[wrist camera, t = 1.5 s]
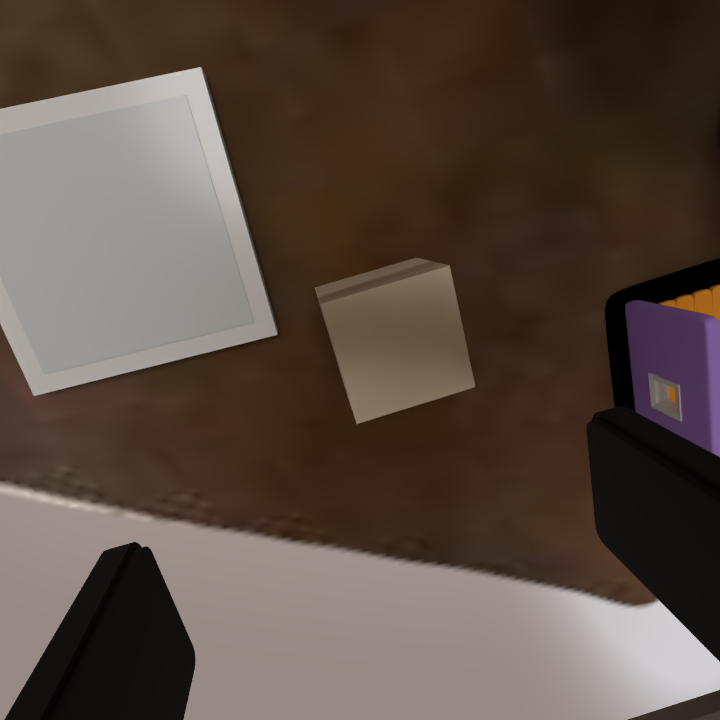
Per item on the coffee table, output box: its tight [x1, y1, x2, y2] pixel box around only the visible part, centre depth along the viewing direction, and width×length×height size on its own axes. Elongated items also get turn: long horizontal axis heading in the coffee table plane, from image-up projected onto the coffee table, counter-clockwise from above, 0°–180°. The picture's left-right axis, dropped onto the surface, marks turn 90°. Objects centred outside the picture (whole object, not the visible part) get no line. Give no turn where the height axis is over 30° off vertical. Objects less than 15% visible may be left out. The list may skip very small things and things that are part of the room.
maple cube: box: [315, 258, 475, 424], centre depth 24 cm, size 6×6×6 cm
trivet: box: [0, 67, 278, 396], centre depth 24 cm, size 13×13×1 cm
